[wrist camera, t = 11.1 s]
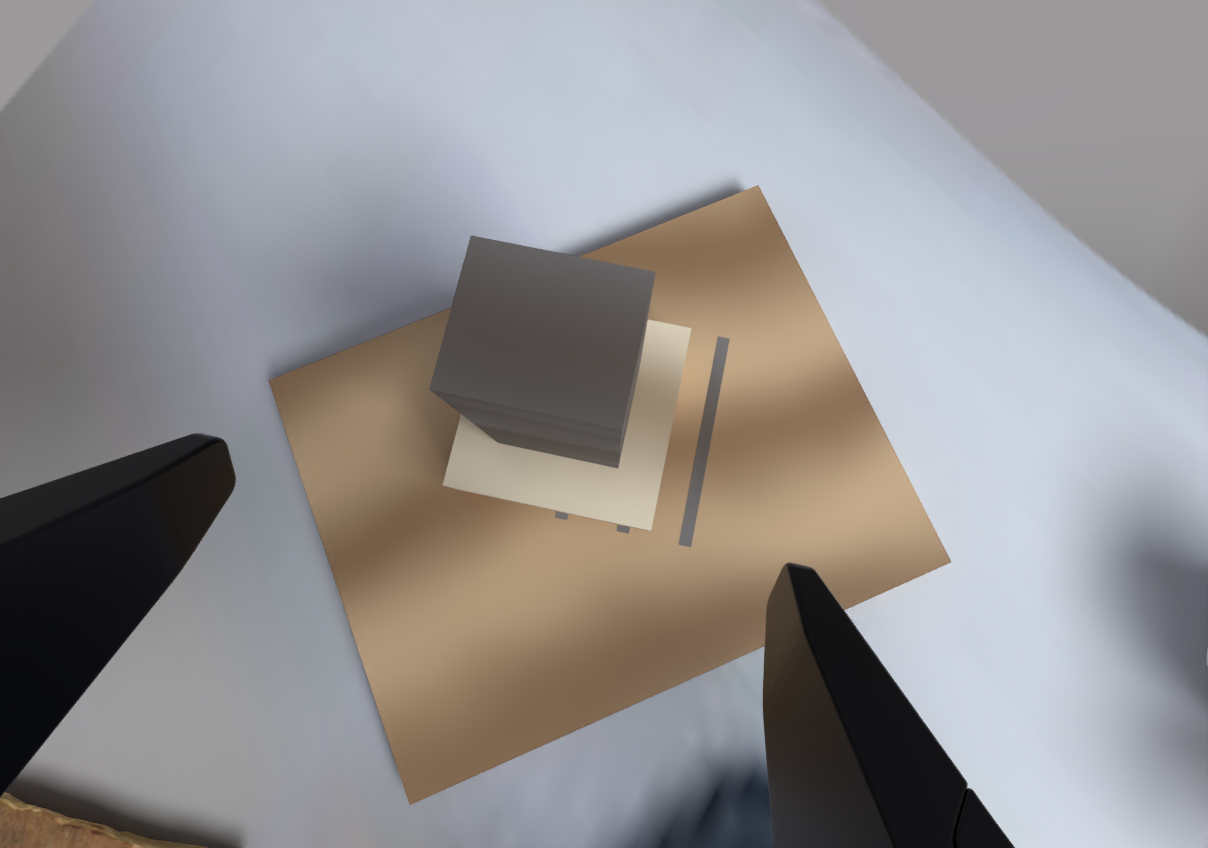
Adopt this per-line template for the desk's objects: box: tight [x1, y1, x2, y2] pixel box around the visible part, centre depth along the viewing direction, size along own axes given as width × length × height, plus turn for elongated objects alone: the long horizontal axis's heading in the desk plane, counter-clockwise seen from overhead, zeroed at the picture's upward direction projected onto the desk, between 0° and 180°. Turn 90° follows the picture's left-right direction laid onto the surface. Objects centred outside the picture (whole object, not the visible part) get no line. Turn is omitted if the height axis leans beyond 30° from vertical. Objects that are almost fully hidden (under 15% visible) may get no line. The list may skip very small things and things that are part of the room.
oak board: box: [269, 185, 951, 805], centre depth 20 cm, size 14×18×1 cm
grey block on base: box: [429, 236, 691, 531], centre depth 15 cm, size 6×6×9 cm
